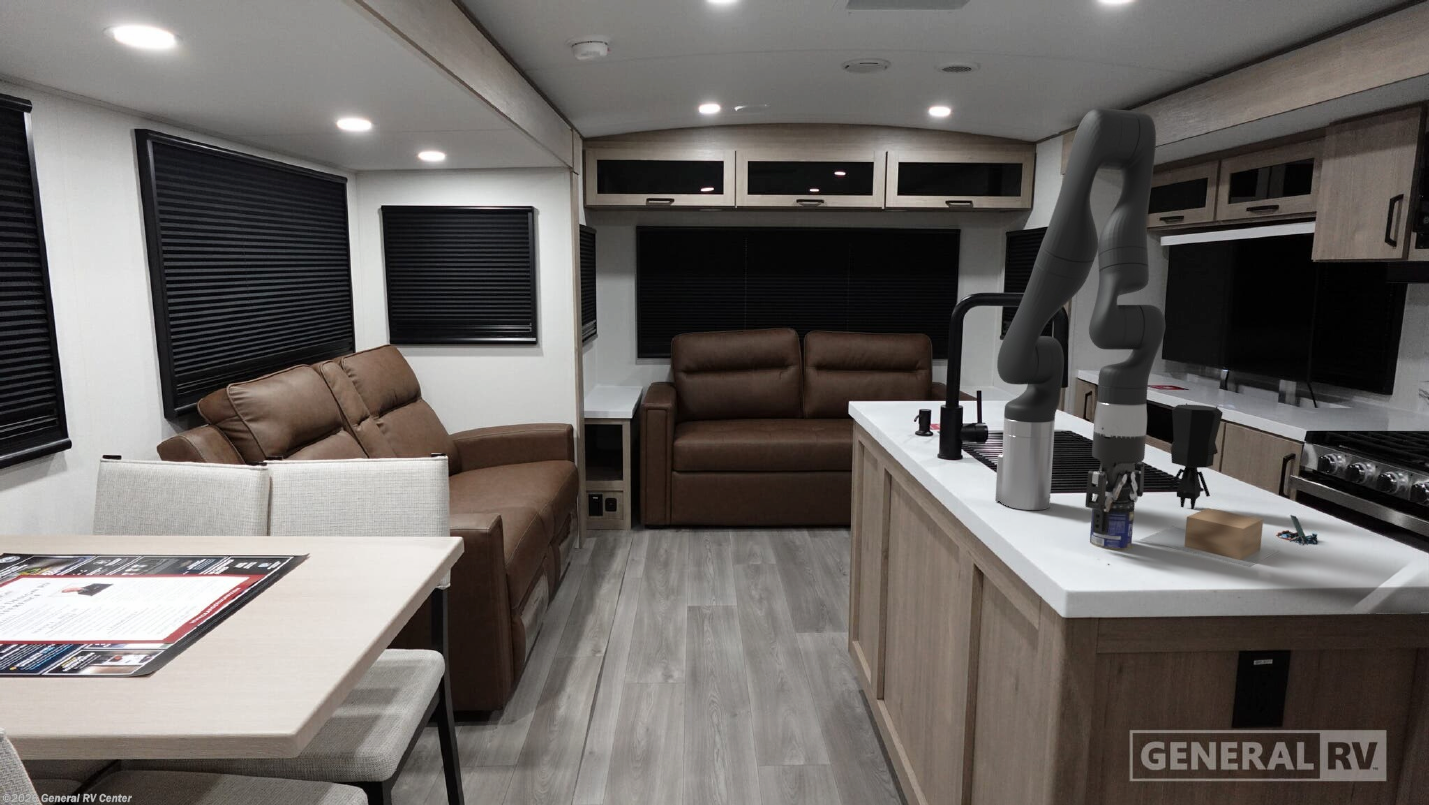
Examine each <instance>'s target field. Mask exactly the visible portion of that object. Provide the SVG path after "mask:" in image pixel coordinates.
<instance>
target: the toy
mask: <svg viewBox="0 0 1429 805" xmlns="http://www.w3.org/2000/svg"><path fill="white" fill-rule="evenodd" d="M1218 406H1219V405H1216V406H1211V405H1210V406H1209V405H1203V404H1188V403H1185V404H1178V405H1176V406H1174V407H1173V408H1172V411H1171V412H1172V413H1171V414H1172V430H1173V431H1172V434H1173V435H1172V436H1173V441H1172V442H1171V445H1170V447H1169V449H1170V454H1171V464H1175V465H1179V466H1182V467H1184V469H1183V468H1179V470H1178V472H1177V473H1176V475H1175V477H1174V478H1173V480H1172V482H1171V484H1170V485H1169V487H1168V489H1167V490H1168V491H1169V492H1170V491H1172V490H1173V488H1174V487H1175V485H1176V483H1177V481H1178V480H1179V478H1180V476H1181V478H1180V480H1179V483H1178V485H1177V489H1176V498H1180V499H1179V500H1180V507H1181V508H1184V506H1185V502H1186V500H1187V499H1189V500H1190V509H1191V510H1195V506H1196V500H1197V499H1198V498H1199V497H1200V496H1201V492H1202V487H1203V490H1204V492H1205V493H1204V494H1205V497H1210V496H1211V495H1210V492H1209V489H1208V486H1207V483H1206V480H1205V478H1204V475H1203V472H1202V471H1201V470H1200V471H1198V468H1199V469H1200V468H1201V469H1204V468H1208V467H1209V468H1210V467H1212V466H1214V460H1215V459H1214V457H1215V455H1217V454H1219V451H1218V448H1217V444H1216V440H1217V437H1218V433H1219V429H1220V426H1221V422H1222V421H1221V420H1222V418H1223V414H1224V412H1223V411H1221V409H1220V408H1218ZM1201 484H1202V485H1201ZM1201 486H1202V487H1201Z"/></svg>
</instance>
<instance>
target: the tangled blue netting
mask: <svg viewBox="0 0 1429 805" xmlns="http://www.w3.org/2000/svg"><path fill="white" fill-rule="evenodd" d="M1289 516H1290V519H1291V521H1292V523H1293V526H1294V528H1295V531H1296V532H1293V531H1290V530H1289V529H1288V530H1282V531H1281V532H1279V531H1278V532H1277V534H1276V536H1275V537H1278V538H1279V539H1282V540H1286V541H1289V543H1292V542H1293V543H1297V544H1299V545H1300V546H1305V545H1307V546H1308V545H1310V544H1311V545H1314V546H1315V545H1318V544H1319V541H1318V533H1316V532H1312V533H1311V534H1309V535H1306V534H1305V532H1304V530H1303V528H1302V525H1301V523H1300V520H1299V518H1298V517H1297V516H1296V515H1292V514H1290V515H1289Z"/></svg>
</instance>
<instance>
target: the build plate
mask: <svg viewBox="0 0 1429 805" xmlns="http://www.w3.org/2000/svg"><path fill="white" fill-rule="evenodd" d="M1185 533H1186V528H1183V527H1178V526H1174V525H1172V526H1170V527H1168V528H1166V529H1163V530H1160V531H1157V532H1156V533H1153V534H1151V535H1147V536H1146V537H1143V538H1141V539H1140V541H1142V542H1148V543H1151V544H1155V545H1159V546H1164V547H1167V548H1168V547H1169V548H1172V549H1176V550H1180V551H1183V552H1187V553H1192V554H1196V555H1201V556H1204V557H1209V558H1212V559H1216V560H1220V561H1225V562H1228V563H1232V564H1237V565H1241V566H1245V567H1249V568H1251V567H1252V566H1254V565H1256V564H1258V563H1260V562H1262V561H1263V560H1265V559H1267V558H1269V557H1270V556H1273V555H1274V554H1276V553H1278V552H1280V550H1279V549H1276V548H1271V547H1266V546H1262V545H1261V547H1260V550H1258V551H1257V552H1255V553H1253V554H1251V555H1249V556H1247V557H1245V558H1243V559H1241V560H1238V559H1233V558H1229V557H1225V556H1221V555H1217V554H1213V553H1209V552H1205V551H1200V550H1196V549H1192V548H1188V547H1184V545H1185Z"/></svg>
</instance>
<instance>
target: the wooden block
mask: <svg viewBox="0 0 1429 805" xmlns="http://www.w3.org/2000/svg"><path fill="white" fill-rule="evenodd" d="M1185 524H1186V525H1185V529H1186V533H1185V545H1184V547H1188V548H1192V549H1196V550H1200V551H1205V552H1209V553H1213V554H1217V555H1221V556H1225V557H1229V558H1233V559H1238V560H1241V559H1243V558H1245V557H1247V556H1249V555H1251V554H1253V553H1255V552H1257V551H1258V550H1260V547H1261V546H1262V537H1263V536H1262V535H1263V526H1264V518H1260V517H1259V518H1258V517H1254V516H1249V515H1245V514H1240V513H1233V512H1229V511H1224V510H1221V509H1220V510H1219V509H1216V508H1209V507H1207V508H1205V509H1203V510H1202V509H1201V510H1199V511H1198V512H1195V513H1192V514H1191V515H1188V516H1186V522H1185Z"/></svg>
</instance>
